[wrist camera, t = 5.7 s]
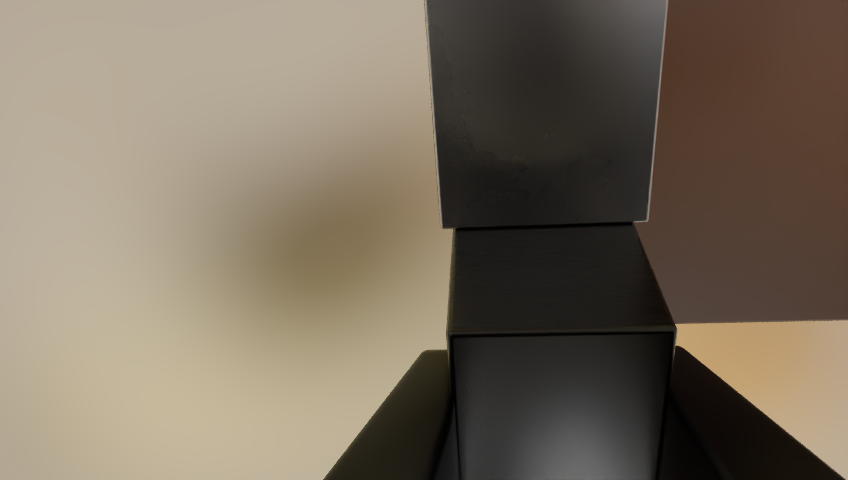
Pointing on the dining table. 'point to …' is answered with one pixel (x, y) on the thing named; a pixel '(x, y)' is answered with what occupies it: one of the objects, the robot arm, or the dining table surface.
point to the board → (752, 162)
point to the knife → (551, 234)
